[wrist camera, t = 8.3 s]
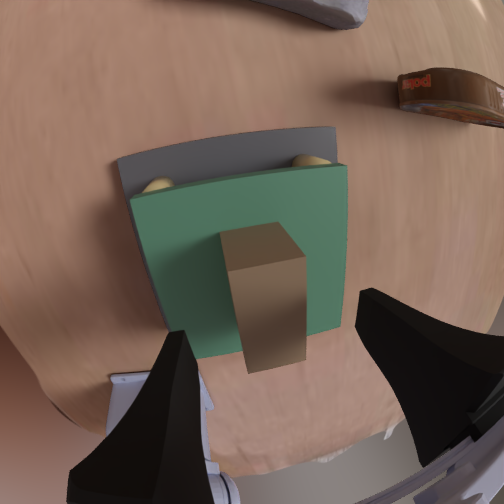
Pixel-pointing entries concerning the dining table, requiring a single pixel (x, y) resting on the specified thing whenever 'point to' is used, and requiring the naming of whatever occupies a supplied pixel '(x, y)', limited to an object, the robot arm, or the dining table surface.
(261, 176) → the board
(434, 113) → the tin
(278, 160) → the chassis
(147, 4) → the dining table surface
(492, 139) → the dining table surface
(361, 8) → the stone block
